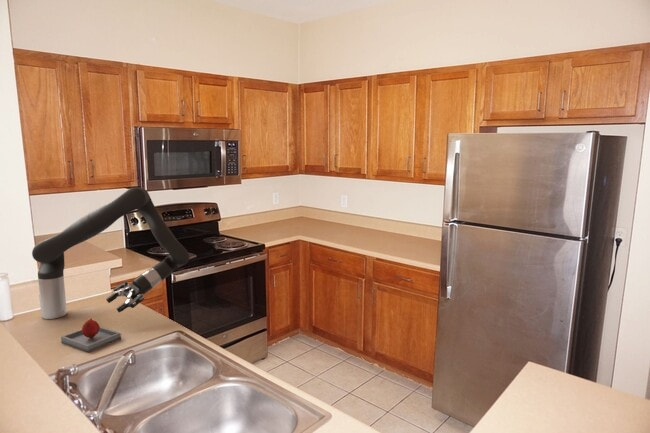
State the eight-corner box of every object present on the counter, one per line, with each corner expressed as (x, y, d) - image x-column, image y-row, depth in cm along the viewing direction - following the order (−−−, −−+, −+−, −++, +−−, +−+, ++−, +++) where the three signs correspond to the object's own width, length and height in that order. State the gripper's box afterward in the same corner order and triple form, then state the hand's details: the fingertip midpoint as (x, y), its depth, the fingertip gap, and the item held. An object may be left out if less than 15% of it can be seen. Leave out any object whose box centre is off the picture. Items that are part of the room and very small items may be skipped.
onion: (92, 342, 159) (91, 321, 158) (78, 340, 160) (77, 320, 159) (103, 335, 165) (102, 315, 164) (90, 334, 166) (88, 314, 165)
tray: (61, 343, 161) (60, 336, 160) (94, 330, 172) (94, 324, 172) (88, 352, 153) (87, 346, 153) (121, 339, 164) (120, 332, 164)
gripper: (135, 268, 185) (100, 292, 176) (153, 281, 177) (117, 307, 168) (142, 280, 190) (108, 304, 181) (159, 294, 182) (125, 320, 173)
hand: (112, 305), depth 175 cm, fingers open, 8 cm apart
